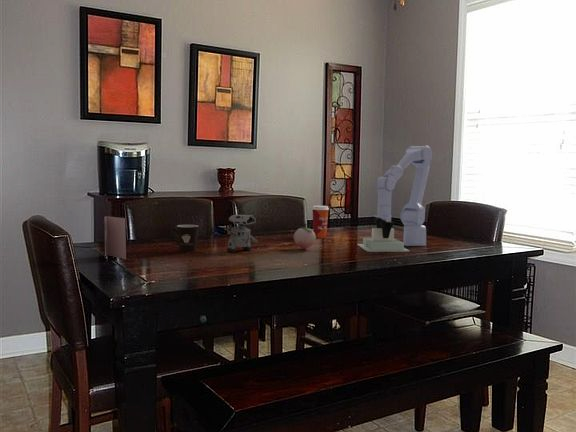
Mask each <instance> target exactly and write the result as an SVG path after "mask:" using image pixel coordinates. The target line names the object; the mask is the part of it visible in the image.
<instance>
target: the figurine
mask: <svg viewBox="0 0 576 432" xmlns="http://www.w3.org/2000/svg"><path fill="white" fill-rule="evenodd" d="M256 219H257V218H255V217H254V215H253V214H233V215H231V216H230V217H228V220H229V222H232V223H233V224H234V225H237V226H233V225H232V224H231V225H229V226H228V227H227V234H226V235H227V236H230V238H229V239H228V241H227V248H226V251H227V252H229V253H235V252H236V247H237V248H242V249H243V251H248V252H249V251H252V245H251V241H252V242H254V243H255V244H259V243H258V242H259V241H260V239H261V237H260V236H258V238H257V239H256V238H254V237H253V235H251V229H250V228H247V225H252V224H255V223H256Z"/></svg>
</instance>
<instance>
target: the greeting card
mask: <svg viewBox="0 0 576 432" xmlns="http://www.w3.org/2000/svg"><path fill="white" fill-rule="evenodd" d="M102 224H103V227H104V257H105V256H106V257H105V259H107V260H108V256H107V255H109V256H113V257H112V258H114V257H117V258H116V259H120V258H122V260H127V250H126V249H127V247H126V246H127V245H126V218H125V217H119V216H118V217H117V216H116V217H115V216H109V215H108V216H107V215H104V220H103V219H102Z"/></svg>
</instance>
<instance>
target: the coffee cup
mask: <svg viewBox="0 0 576 432" xmlns="http://www.w3.org/2000/svg"><path fill="white" fill-rule="evenodd" d="M311 209H312V231H313V232H314V233H315V235H316V238H315V239H326V237H327V232H328V231H327V229H328V218H329V210H330V208H329V206H328V205H313V206H312V208H311Z"/></svg>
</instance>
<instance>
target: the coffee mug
mask: <svg viewBox="0 0 576 432" xmlns="http://www.w3.org/2000/svg"><path fill="white" fill-rule="evenodd" d="M199 227H200V226H199V225H197V224H178V225H176V228H170V229H169V230H167V236H168V238H169V239H170V240H171V241H173V242H174V243H176V244H177V245H178V247H179V248H178V249H179V252H181V253H194V252H196V251H197V245H198V244H197V243H198V237H199V236H198V235H199V229H200V228H199ZM171 231H174V232H175V233H176V234H177V239H178V241H177V240H175V239H174V238H172V237H171V236H170V232H171Z"/></svg>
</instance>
